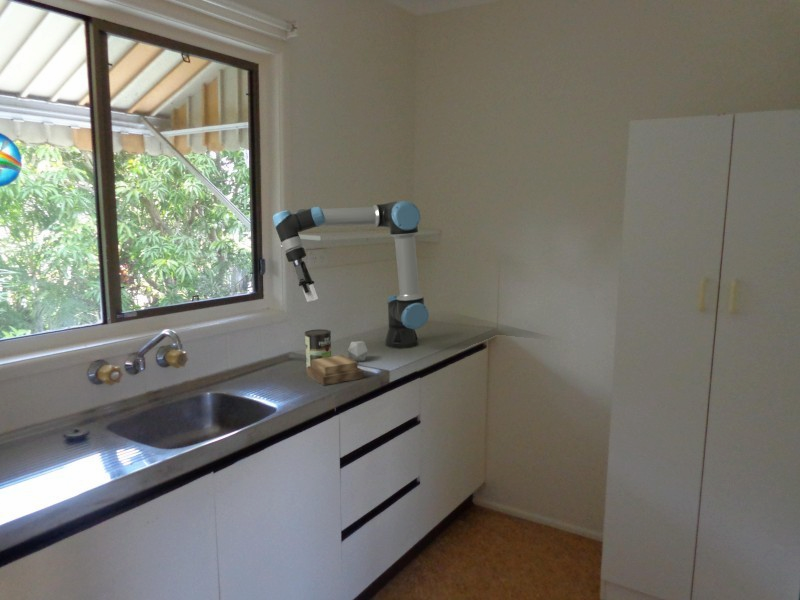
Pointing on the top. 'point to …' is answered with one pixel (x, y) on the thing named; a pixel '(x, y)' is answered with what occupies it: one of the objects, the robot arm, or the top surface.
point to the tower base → (334, 377)
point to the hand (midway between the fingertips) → (313, 300)
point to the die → (357, 351)
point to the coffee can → (317, 345)
